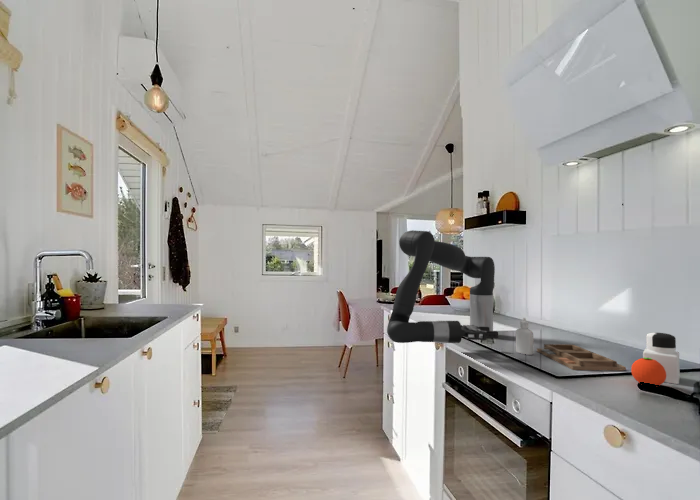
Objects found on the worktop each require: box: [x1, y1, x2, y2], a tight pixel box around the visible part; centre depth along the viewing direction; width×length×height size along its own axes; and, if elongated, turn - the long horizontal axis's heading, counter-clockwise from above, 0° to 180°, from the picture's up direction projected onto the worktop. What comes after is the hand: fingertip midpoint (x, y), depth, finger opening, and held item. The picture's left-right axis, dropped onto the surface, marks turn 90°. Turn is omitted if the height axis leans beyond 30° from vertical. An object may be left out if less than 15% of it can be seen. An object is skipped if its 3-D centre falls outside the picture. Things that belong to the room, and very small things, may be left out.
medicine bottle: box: [642, 332, 681, 385], centre depth 100 cm, size 7×7×12 cm
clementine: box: [630, 357, 666, 386], centre depth 94 cm, size 8×7×7 cm
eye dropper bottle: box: [515, 317, 535, 356], centre depth 126 cm, size 4×6×12 cm
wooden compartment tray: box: [536, 343, 627, 371], centre depth 118 cm, size 22×15×2 cm
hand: (493, 332), depth 127 cm, fingers open, 8 cm apart
